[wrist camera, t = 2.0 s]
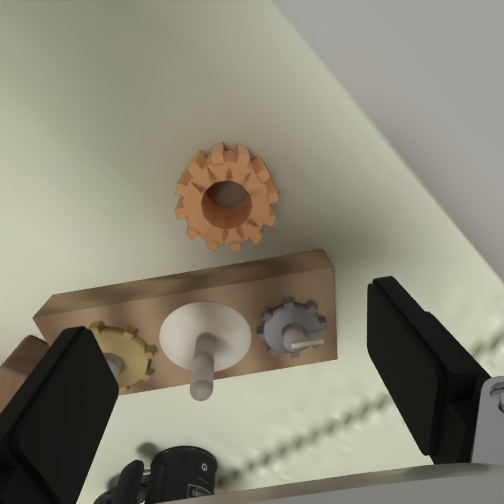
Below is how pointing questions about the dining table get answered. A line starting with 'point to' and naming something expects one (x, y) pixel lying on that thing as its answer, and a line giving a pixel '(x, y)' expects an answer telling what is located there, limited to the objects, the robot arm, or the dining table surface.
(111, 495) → the milk frother
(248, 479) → the dining table surface
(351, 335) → the dining table surface
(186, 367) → the gear board
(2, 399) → the wooden block
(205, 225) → the orange gear
